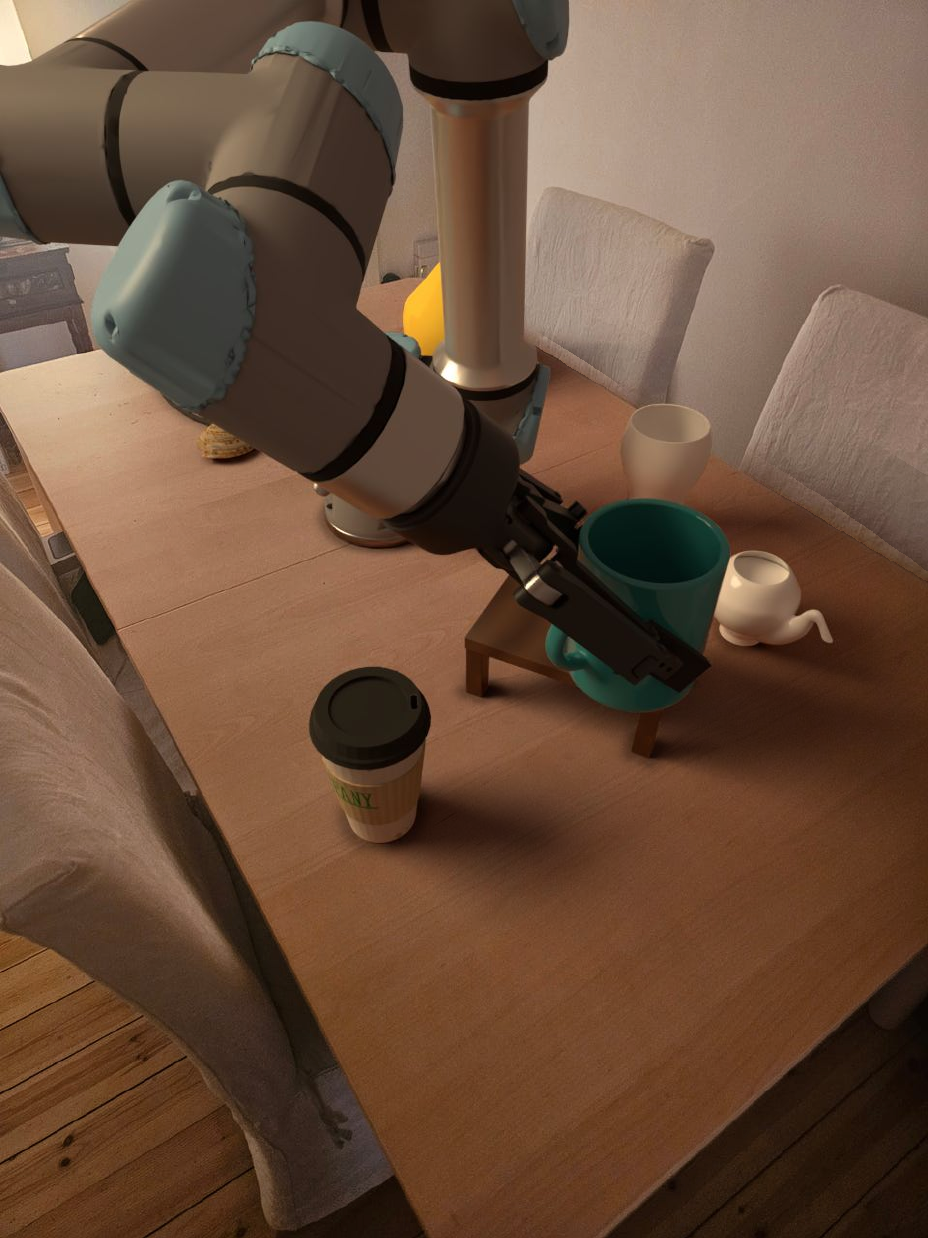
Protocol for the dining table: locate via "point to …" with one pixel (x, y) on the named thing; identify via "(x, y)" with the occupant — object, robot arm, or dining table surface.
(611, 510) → the cup
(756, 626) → the teapot
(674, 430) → the cup
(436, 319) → the vase
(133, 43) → the robot arm
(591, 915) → the dining table surface
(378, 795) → the coffee cup
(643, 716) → the wooden toy chair
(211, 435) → the seashell
